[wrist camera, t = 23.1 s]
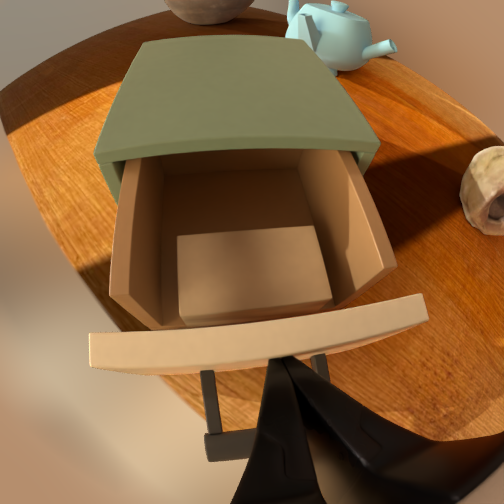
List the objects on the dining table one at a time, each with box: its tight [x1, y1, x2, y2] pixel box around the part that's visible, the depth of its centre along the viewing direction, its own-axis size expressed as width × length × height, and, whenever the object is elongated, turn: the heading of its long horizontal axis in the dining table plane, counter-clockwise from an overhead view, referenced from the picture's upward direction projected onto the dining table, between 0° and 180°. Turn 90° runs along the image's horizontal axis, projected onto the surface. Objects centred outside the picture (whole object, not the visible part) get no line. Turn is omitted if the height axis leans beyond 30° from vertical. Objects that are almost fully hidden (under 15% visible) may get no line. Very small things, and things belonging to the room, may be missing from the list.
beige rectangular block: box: [177, 226, 332, 327], centre depth 14 cm, size 7×4×2 cm, turn 98°
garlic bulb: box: [459, 146, 504, 236], centre depth 19 cm, size 9×8×10 cm
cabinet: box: [93, 35, 381, 206], centre depth 18 cm, size 15×14×9 cm
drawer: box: [89, 148, 429, 462], centre depth 13 cm, size 18×12×7 cm
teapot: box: [286, 0, 397, 76], centre depth 29 cm, size 15×14×11 cm
